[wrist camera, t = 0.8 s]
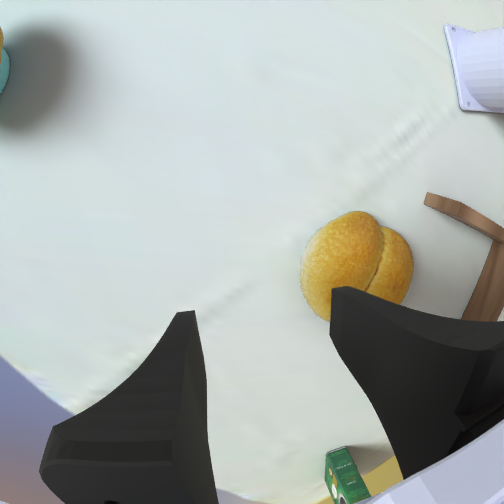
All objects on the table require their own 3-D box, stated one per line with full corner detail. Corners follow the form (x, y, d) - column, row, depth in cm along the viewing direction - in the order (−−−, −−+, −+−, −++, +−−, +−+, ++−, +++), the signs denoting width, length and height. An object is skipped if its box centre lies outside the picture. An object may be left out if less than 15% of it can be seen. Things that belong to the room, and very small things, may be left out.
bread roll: (328, 192, 21) (356, 202, 17) (411, 243, 24) (441, 260, 20) (272, 294, 23) (288, 322, 19) (361, 328, 26) (383, 354, 22)
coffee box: (343, 473, 34) (377, 545, 22) (323, 480, 34) (355, 554, 22) (347, 444, 31) (391, 528, 19) (324, 452, 31) (364, 539, 19)
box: (361, 353, 26) (382, 380, 23) (427, 192, 22) (461, 202, 19) (446, 356, 30) (466, 375, 26) (500, 233, 26) (527, 244, 22)
